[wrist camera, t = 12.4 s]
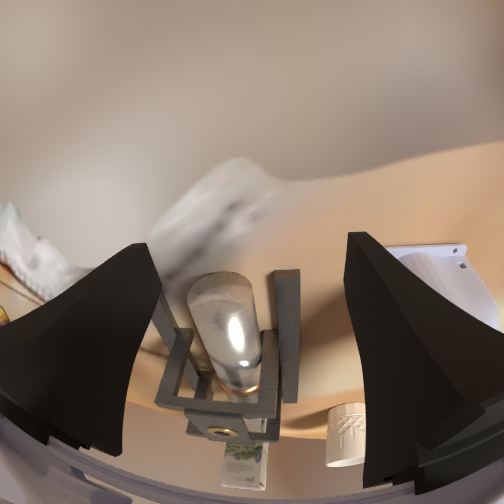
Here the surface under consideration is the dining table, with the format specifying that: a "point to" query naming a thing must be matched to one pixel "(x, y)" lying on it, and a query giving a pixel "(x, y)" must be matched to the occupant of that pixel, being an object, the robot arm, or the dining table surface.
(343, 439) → the white cup
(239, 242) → the dining table surface
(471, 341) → the robot arm
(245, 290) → the steel tube
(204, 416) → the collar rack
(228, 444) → the syrup box
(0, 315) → the candy box
